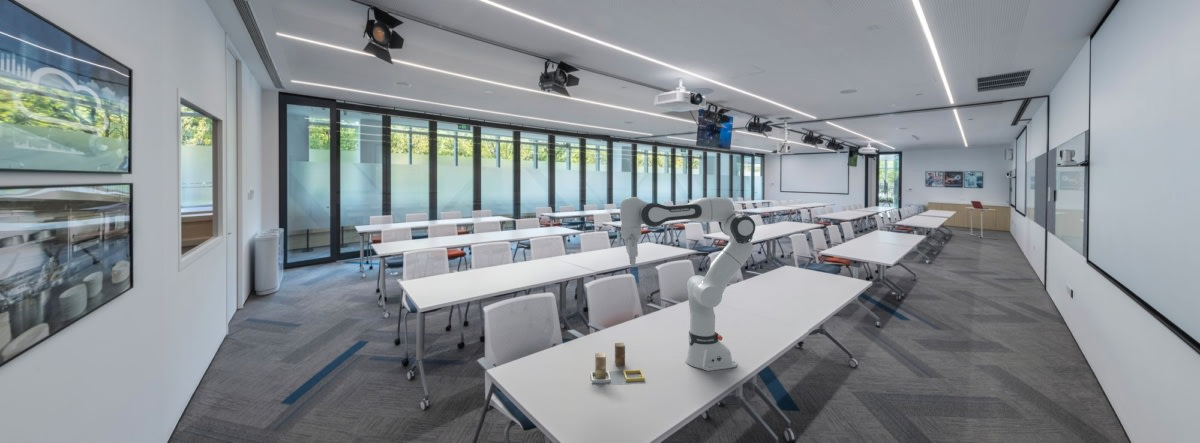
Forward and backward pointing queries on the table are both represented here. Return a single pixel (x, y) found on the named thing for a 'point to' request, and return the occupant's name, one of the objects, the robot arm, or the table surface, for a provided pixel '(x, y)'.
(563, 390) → the table surface
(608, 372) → the base plate
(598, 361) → the oak pillar
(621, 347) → the walnut pillar
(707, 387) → the table surface
